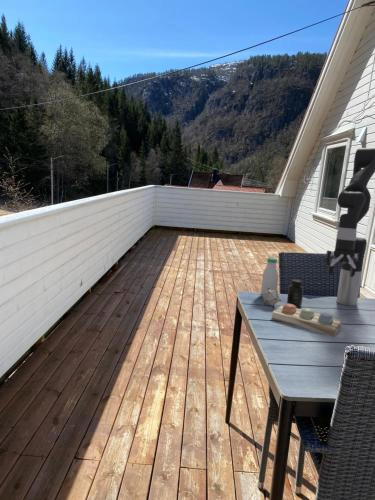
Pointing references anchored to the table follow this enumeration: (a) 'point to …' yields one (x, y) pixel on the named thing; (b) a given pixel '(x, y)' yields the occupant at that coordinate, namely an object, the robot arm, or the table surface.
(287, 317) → the button panel
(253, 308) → the table surface
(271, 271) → the milk bottle
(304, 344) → the table surface
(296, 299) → the supplement bottle
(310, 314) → the sage button
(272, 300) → the game die
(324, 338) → the table surface
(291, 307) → the terracotta button
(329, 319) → the slate button
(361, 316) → the table surface
